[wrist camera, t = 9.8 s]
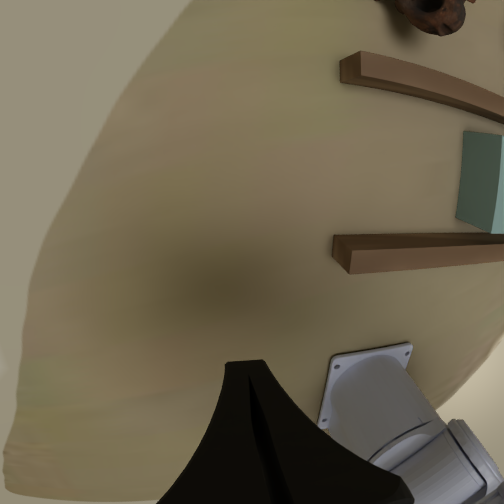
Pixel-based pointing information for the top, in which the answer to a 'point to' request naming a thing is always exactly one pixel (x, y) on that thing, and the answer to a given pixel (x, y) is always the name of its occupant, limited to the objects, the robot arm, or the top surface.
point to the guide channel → (417, 244)
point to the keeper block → (482, 182)
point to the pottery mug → (434, 14)
